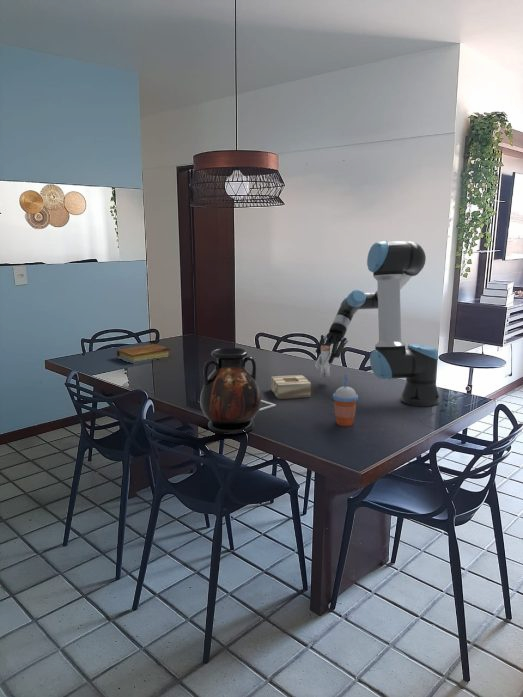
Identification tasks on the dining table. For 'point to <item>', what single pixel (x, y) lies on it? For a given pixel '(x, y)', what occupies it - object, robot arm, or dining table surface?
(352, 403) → the cup with straw
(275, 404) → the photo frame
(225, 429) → the amphora vase
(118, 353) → the diary
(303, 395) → the socket block
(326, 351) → the peg
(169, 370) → the dining table surface
